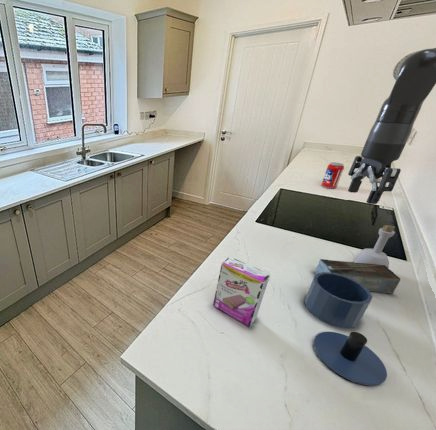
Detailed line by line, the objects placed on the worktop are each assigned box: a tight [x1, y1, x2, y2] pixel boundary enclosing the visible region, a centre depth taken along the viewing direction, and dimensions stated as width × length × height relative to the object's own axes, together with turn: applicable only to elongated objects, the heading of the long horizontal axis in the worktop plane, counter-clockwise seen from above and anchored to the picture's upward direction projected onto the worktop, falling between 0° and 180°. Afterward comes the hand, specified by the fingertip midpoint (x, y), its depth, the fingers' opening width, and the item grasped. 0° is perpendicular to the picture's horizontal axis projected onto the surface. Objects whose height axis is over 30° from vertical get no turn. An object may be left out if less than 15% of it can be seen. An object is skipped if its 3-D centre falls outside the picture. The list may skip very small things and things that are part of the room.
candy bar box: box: [212, 256, 271, 328], centre depth 73 cm, size 11×5×16 cm, turn 43°
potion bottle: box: [353, 224, 396, 269], centre depth 89 cm, size 9×9×18 cm
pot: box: [304, 272, 373, 329], centre depth 75 cm, size 13×13×9 cm
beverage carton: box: [314, 258, 401, 295], centre depth 85 cm, size 8×19×7 cm, turn 77°
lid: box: [312, 331, 388, 387], centre depth 62 cm, size 14×14×8 cm
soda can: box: [320, 161, 345, 190], centre depth 161 cm, size 8×8×15 cm
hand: (361, 197), depth 75 cm, fingers open, 8 cm apart
